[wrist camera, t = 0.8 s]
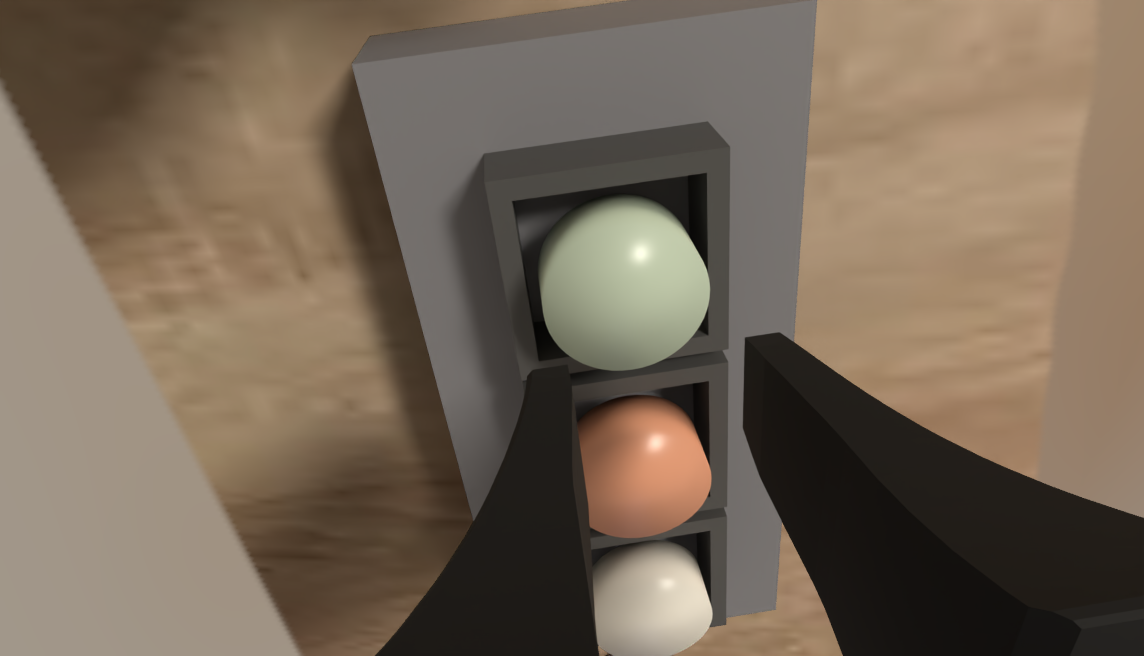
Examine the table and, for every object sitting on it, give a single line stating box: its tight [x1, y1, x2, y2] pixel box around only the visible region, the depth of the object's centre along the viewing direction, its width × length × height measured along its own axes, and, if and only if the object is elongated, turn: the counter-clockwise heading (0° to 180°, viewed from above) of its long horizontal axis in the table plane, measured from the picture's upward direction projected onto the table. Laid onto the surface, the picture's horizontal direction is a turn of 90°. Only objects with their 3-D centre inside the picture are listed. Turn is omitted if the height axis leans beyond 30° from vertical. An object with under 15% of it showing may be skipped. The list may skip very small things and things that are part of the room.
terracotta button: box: [577, 395, 712, 538], centre depth 19 cm, size 4×4×2 cm
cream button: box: [592, 540, 713, 656], centre depth 22 cm, size 4×4×2 cm
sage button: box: [538, 194, 710, 371], centre depth 16 cm, size 4×4×2 cm
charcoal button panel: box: [352, 0, 817, 646], centre depth 22 cm, size 21×10×5 cm, turn 6°
